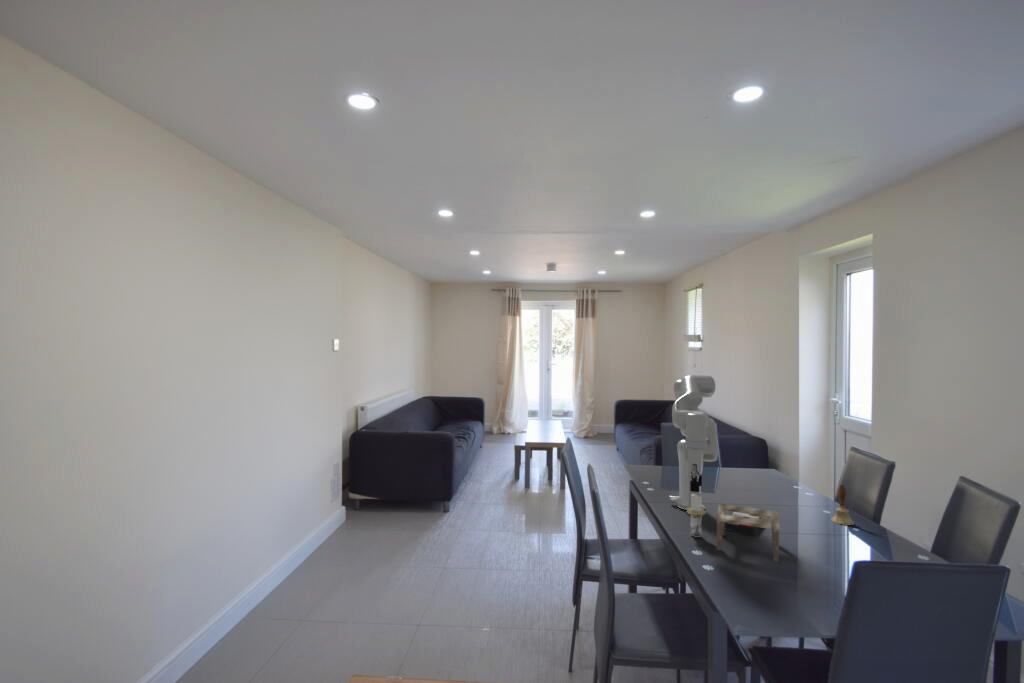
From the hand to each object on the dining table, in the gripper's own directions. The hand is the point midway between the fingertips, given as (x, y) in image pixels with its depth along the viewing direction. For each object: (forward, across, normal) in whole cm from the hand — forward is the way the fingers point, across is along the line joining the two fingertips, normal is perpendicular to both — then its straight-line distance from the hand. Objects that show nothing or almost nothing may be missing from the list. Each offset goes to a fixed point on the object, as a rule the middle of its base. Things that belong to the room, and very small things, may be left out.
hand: (696, 488), depth 182 cm
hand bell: (+18, -47, +54) cm, 74 cm away
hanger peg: (+19, -1, 0) cm, 19 cm away
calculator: (+19, -21, +16) cm, 32 cm away
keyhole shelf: (+19, +1, +18) cm, 26 cm away
